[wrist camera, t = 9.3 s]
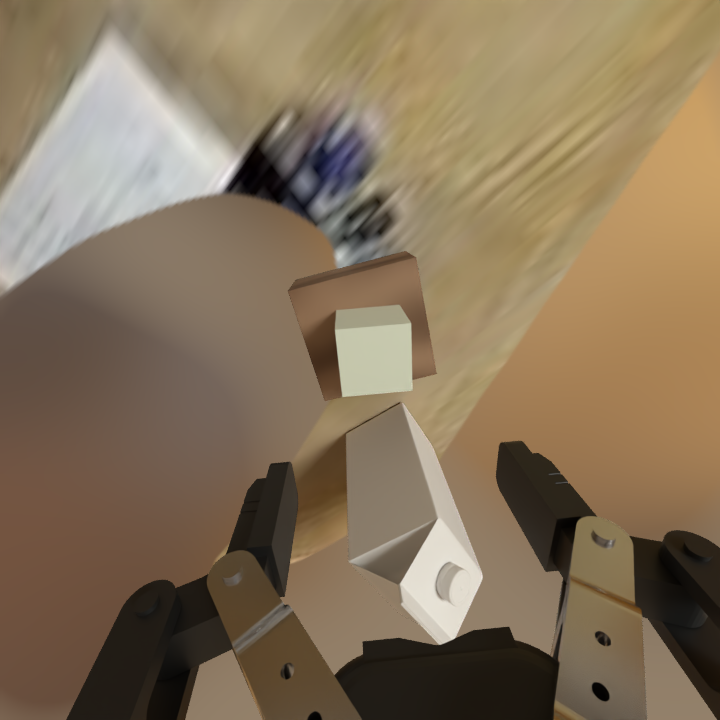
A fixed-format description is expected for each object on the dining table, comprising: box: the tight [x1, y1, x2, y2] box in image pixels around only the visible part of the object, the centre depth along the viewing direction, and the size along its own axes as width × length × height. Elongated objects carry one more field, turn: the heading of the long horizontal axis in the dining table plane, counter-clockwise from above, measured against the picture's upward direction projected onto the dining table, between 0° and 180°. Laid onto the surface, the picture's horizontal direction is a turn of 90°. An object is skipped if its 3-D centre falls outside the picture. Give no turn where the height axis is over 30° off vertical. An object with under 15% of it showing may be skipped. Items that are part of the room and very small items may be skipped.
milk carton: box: [346, 403, 483, 645], centre depth 29 cm, size 7×7×19 cm
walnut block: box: [288, 251, 437, 401], centre depth 30 cm, size 10×10×5 cm
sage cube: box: [335, 305, 412, 397], centre depth 26 cm, size 5×5×5 cm
